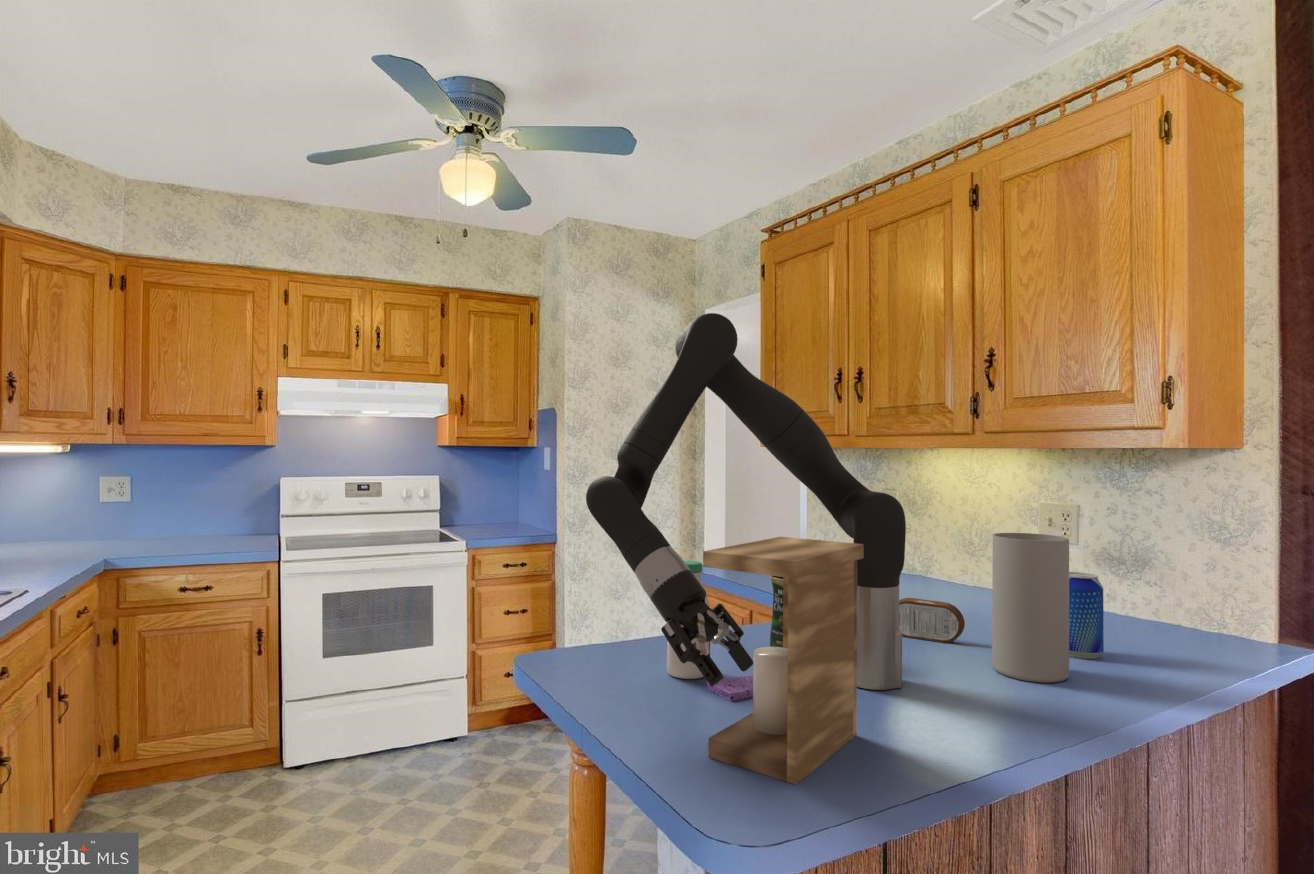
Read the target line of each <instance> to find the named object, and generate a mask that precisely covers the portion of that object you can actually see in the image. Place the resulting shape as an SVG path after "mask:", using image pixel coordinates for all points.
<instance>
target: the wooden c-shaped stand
mask: <svg viewBox="0 0 1314 874" xmlns="http://www.w3.org/2000/svg"><path fill="white" fill-rule="evenodd" d="M862 558H864V544H857V543H854V542H846V541H833V540H832V541H831V540H821V539H811V538H800V537H798V538H797V537H788V536H787V537H786V536H776V537H771V538H767V539H762V540H755V541H751V542H745V543H741V544H736V545H729V546H724V547H718V548H714V549H710V550H709V549H707V550H704V551H703V552H702V568H711V569H717V570H726V571H733V572H740V573H741V572H742V573H749V574H750V573H751V574H757V575H766V576H771V575H772V576H780V577H783V648H788V705H787V734H785V735H773V734H767V733H763V732H760V731H758V730H756V729H755V728H754V727H753V712H750V713H749V714H747V715H746V716H744V717H743V718H741V719H739V720H737V721H735V722H733V723H731V724H730V725H729V726H727V727H725V728H723V729H722V730H720V731H718V732H716V733H714V734H713V735H710V736H709V737H708V756H707V757H708V758H710V759H714V760H717V761H720V762H723V763H726V764H729V765H733V766H736V767H738V768H743V769H745V770H749V771H751V772H755V773H757V774H761V775H764V776H768V777H770V778H774V779H777V780H781V781H784V782H787V783H790V784H793V785H797V784H798V783H800V782H801V781H802V780H803V779H804V778H806V777H807V776H809V774H811V773H812V772H813V771H815V770H816V769H817V768H818V767H819V766H821V765H822V764H823V763H824V762H826V760H828V759H829V758H830V757H832V756H833V755H834V754H835V753H837V752H838V751H839V750H841V749H842V748H843V747H844V746H845V745H846V744H848V743H849V742H850V741H851V740H852V739H854V738H855V737H857V715H858V714H857V706H858V704H857V702H858V701H857V699H858V698H857V697H858V695H857V694H858V693H857V692H858V691H857V689H858V687H857V560H859V559H862ZM854 736H855V737H854ZM853 737H854V738H853ZM851 738H852V739H851ZM850 739H851V740H850ZM849 740H850V741H849ZM848 741H849V742H848ZM847 742H848V743H847ZM837 750H838V751H837ZM831 755H832V756H831Z"/></svg>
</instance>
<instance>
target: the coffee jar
mask: <svg viewBox="0 0 1314 874" xmlns="http://www.w3.org/2000/svg"><path fill="white" fill-rule="evenodd" d="M770 581H771V585H772V591H773V593H772V594H773V596H772V597H773V598H772V600H773V601H772V615H771V626H770V634H769V635H770V637H769V647H782V648H783V577H780V576H772V575H770Z"/></svg>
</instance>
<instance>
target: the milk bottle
mask: <svg viewBox="0 0 1314 874" xmlns="http://www.w3.org/2000/svg"><path fill="white" fill-rule="evenodd" d="M683 561H684V562H685V563H686V565H687V566H688V567H689V569H690V570H691V572H692V573H693V574H694V576H695V577H696V578H697V580H698V581H699V583H700V584H701V585H702V587H703V588H704V586H703V583H702V575H703V562H700V561H698V560H683ZM705 603H706V604H707V605H708V606H709V607H710V603H709V599H708V596H707V595H706V597H705ZM666 640H667V639H666ZM681 648H682V650H683V651H684V652H685V651H686V650H685V646H684V644H683V643H682V644H681ZM705 648H706V655H708V654H709V656H710V657H711V642H710V641H709V642H705ZM666 657H667V658H666V670H667V673H668V675H670V676H671V677H674V678H678V679H684V680H685V679H686V680H696V679H702V678H704V676H703V675H702V673H701V672H700V670H699V669H698V667H697V666H696V665H694V664H692V663H691V662H686V663H682V662H681V661H680V660H679V658H678V656H677V655H676V653H675V652H674V650H673V648H672V647H671V645H670V644H669V642H668V640H667V643H666Z"/></svg>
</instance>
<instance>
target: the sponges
mask: <svg viewBox="0 0 1314 874" xmlns="http://www.w3.org/2000/svg"><path fill="white" fill-rule="evenodd" d="M706 689H707V690H708V689H709V690H708V691H710V690H711V691H710V692H712V693H714V692H716V693H717V694H720V695H721V696H722V697H721V696H720V697H721V698H723V697H724V698H723V699H725V698H726V699H725V700H727V701H728V702H733V700H734V701H738V700H737V699H740V700H745V699H749V697H750V698H753V674H749V675H744V676H743V675H741V676H734V677H727V678H726V677H725V678H722V679H721V680H720V681H719V682H718V683H717V684H716V685H714V686H711V685H710V684H709V682H708V681H707V680H706ZM716 693H715V694H716ZM717 694H716V695H717ZM744 698H745V699H744Z"/></svg>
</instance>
